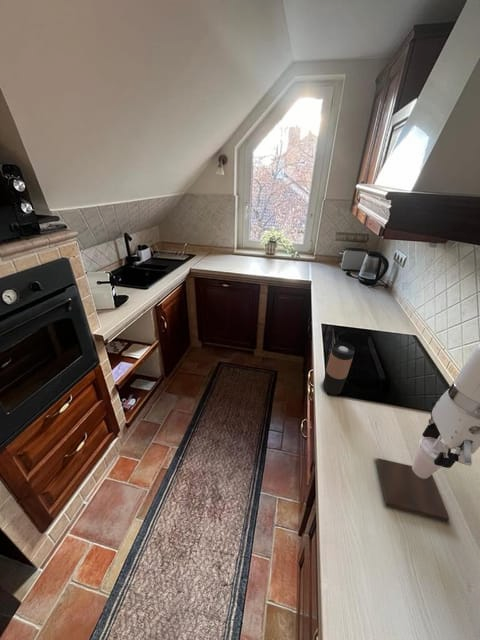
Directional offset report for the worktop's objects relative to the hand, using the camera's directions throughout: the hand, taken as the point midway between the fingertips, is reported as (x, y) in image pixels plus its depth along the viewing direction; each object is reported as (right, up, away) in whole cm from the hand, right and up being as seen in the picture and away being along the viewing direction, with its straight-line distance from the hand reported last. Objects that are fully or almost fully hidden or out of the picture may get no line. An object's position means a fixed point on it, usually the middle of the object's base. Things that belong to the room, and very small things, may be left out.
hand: (435, 450), depth 60 cm
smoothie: (0, -8, +5) cm, 9 cm away
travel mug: (-10, +4, +40) cm, 42 cm away
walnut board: (0, -15, +9) cm, 18 cm away
